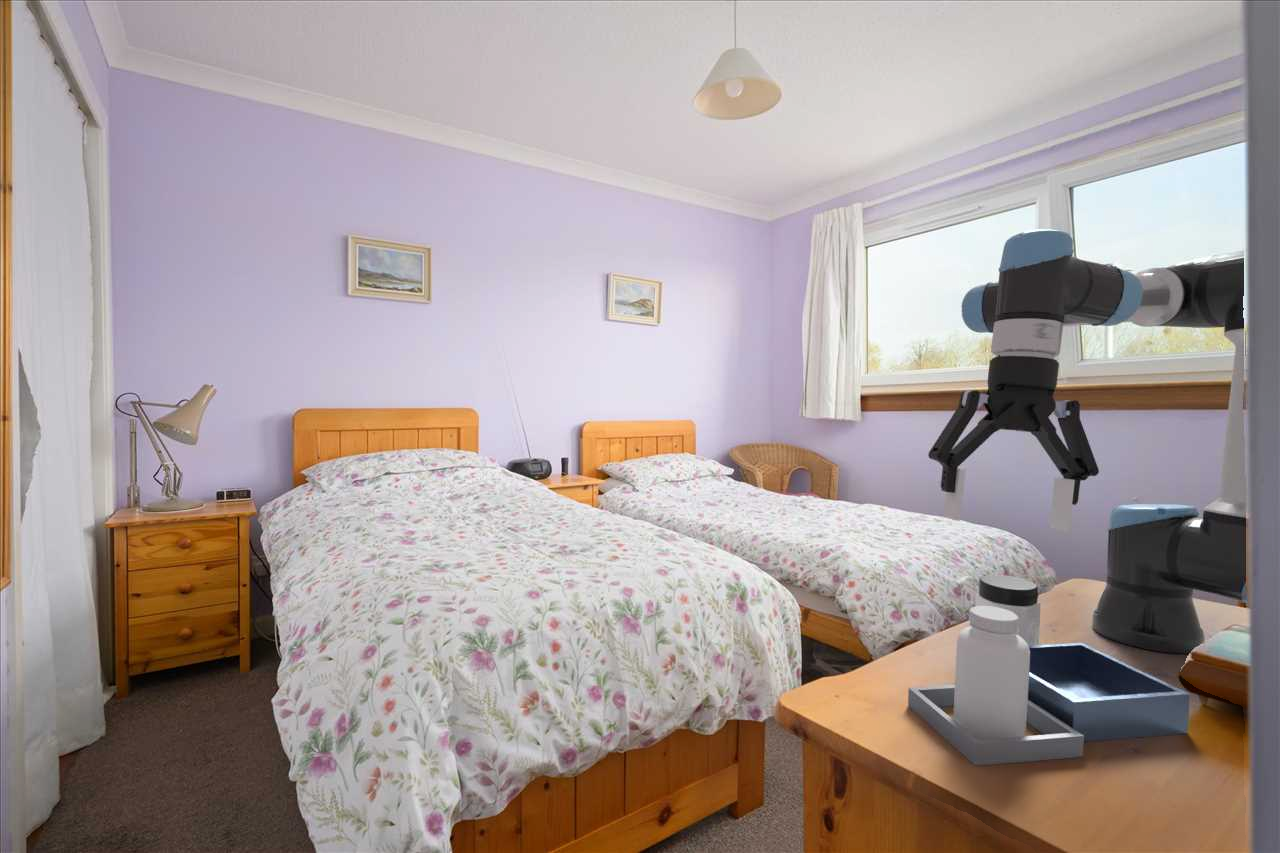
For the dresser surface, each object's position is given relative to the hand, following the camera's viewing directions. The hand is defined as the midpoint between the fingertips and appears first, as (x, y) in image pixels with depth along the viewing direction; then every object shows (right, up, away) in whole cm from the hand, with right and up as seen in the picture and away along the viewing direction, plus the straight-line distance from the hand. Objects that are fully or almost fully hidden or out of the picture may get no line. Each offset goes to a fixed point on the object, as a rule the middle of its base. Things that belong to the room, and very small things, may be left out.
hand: (1005, 524), depth 79 cm
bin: (+13, -25, +5) cm, 29 cm away
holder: (-3, -26, -1) cm, 26 cm away
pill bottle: (-3, -26, -1) cm, 26 cm away
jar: (+12, -25, +21) cm, 35 cm away
